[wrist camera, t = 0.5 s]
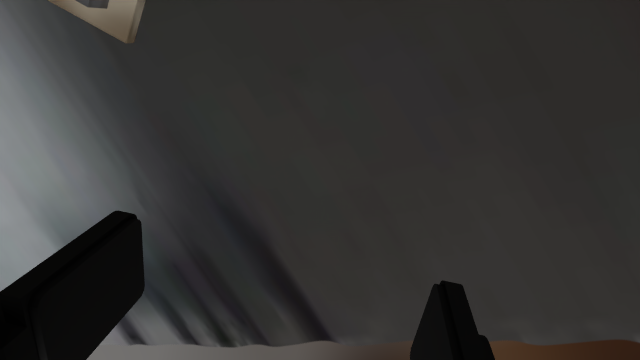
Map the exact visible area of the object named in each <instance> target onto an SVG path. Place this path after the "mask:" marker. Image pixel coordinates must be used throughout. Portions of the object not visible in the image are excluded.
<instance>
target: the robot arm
mask: <svg viewBox="0 0 640 360" xmlns="http://www.w3.org/2000/svg"><path fill="white" fill-rule="evenodd" d="M144 287H145V283H144V265H143V246H142V228H141V221H140V220H138V219H137V217H136V215H135V214H131V213H127V212H122V211H114V212H112V213H111V214H109V215H108V216H107V217H105V218H104V219H102V220H101V221H100V222H98V223H97V224H95V225H94V226H92V227H91V228H90V229H88V230H87V231H85V232H84V233H83V234H81V235H80V236H78V237H77V238H76V239H74V240H73V241H71V242H70V243H68V244H67V245H66V246H64V247H63V248H61V249H60V250H59V251H57V252H56V253H54V254H53V255H52V256H50V257H49V258H47V259H46V260H44V261H43V262H42V263H40V264H39V265H37V266H36V267H35V268H33V269H32V270H30V271H29V272H28V273H26V274H25V275H23V276H22V277H20V278H19V279H18V280H16V281H15V282H13V283H12V284H11V285H9V286H8V287H6V288H5V289H4V290H2V291H1V292H0V360H86V359H87V358H88V357H89V356H90V355H91V354H92V352H93V351H94V350H95V349H96V348H97V347H98V345H99V344H100V343H101V342H102V341H103V340H104V339H105V337H106V336H107V335H108V334H109V333H110V332H111V331H112V329H113V328H114V327H115V326H116V325H117V324H118V322H119V321H120V320H121V319H122V318H123V317H124V316H125V314H126V313H127V312H128V311H129V310H130V309H131V308H132V306H133V305H134V304H135V303H136V302H137V301H138V299H139V298H140V297H141V296H142V294H143V291H144ZM410 360H495V358H494V355H493V353H492V350H491V347H490V344H489V342H488V339H487V338H486V337H485V336H483V335H479V334H478V331H477V328H476V325H475V322H474V319H473V316H472V313H471V310H470V307H469V303H468V300H467V297H466V294H465V291H464V288H463V286H462V285H461V284H457V283H452V282H448V281H441V282H440V284H439V285H438V284H434V285H433V287H432V290H431V293H430V296H429V299H428V302H427V304H426V307H425V310H424V313H423V316H422V319H421V321H420V324H419V327H418V330H417V333H416V336H415V338H414V341H413V344H412V347H411V352H410Z"/></svg>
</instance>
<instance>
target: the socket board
mask: <svg viewBox="0 0 640 360" xmlns="http://www.w3.org/2000/svg"><path fill="white" fill-rule="evenodd" d="M48 1H50V2H52V3H54V4H56V5H57V6H59V7H61V8H63V9H65V10H66V11H68V12H70V13H72V14H74V15H76V16H77V17H79V18H81V19H83V20H85V21H86V22H88V23H90V24H92V25H94V26H96V27H97V28H99V29H101V30H103V31H105V32H106V33H108V34H110V35H112V36H114V37H116V38H117V39H119V40H121V41H123V42H125V43H134V41H135V37H136V33H137V30H138V26H139V23H140V19H141V15H142V12H143V8H144V4H145V1H146V0H48Z"/></svg>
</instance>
